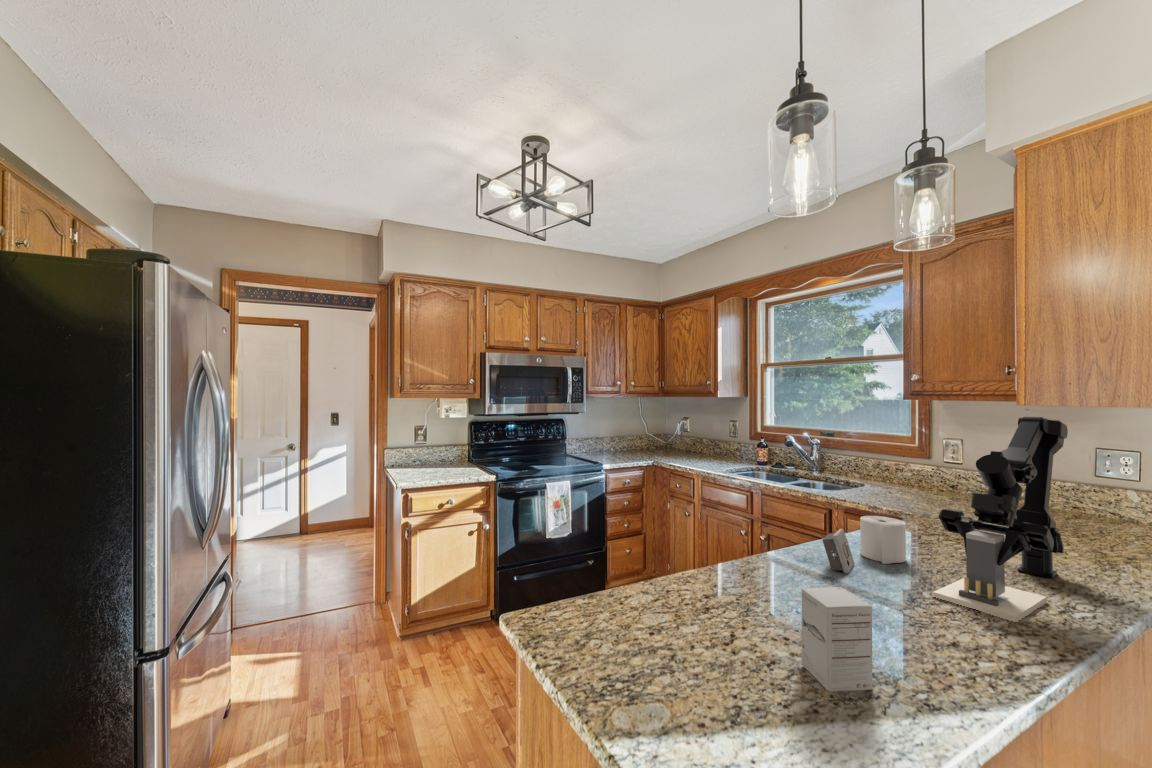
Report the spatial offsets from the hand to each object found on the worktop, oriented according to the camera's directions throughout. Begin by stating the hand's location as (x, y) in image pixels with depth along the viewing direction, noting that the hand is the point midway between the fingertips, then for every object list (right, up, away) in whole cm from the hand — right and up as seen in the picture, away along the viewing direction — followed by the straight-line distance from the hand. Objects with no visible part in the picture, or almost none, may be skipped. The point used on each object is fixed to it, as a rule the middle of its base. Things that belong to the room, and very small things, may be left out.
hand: (982, 560), depth 104 cm
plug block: (+1, -7, +1) cm, 7 cm away
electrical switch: (-19, -10, +21) cm, 30 cm away
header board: (+3, -9, +2) cm, 10 cm away
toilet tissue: (-3, -10, +29) cm, 31 cm away
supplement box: (-46, -8, -28) cm, 55 cm away
